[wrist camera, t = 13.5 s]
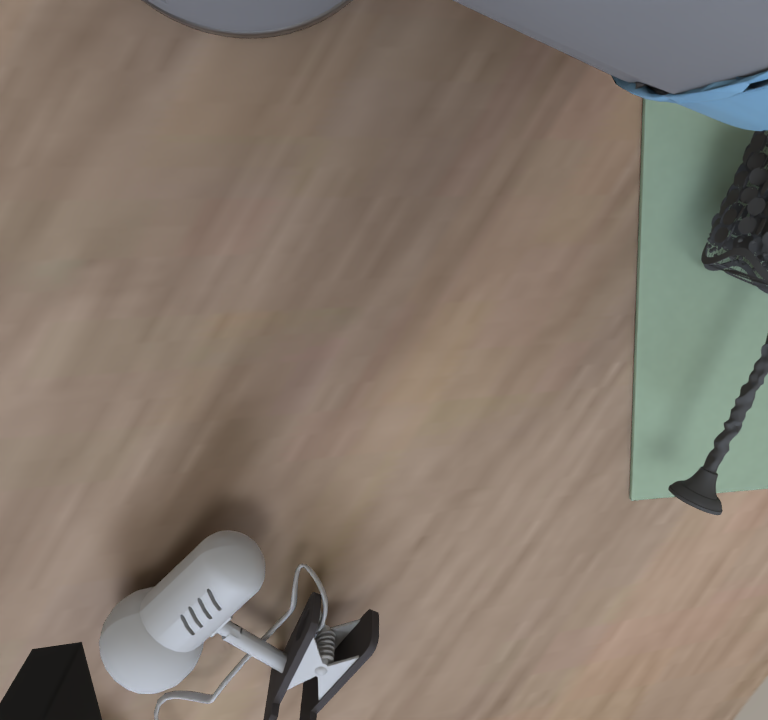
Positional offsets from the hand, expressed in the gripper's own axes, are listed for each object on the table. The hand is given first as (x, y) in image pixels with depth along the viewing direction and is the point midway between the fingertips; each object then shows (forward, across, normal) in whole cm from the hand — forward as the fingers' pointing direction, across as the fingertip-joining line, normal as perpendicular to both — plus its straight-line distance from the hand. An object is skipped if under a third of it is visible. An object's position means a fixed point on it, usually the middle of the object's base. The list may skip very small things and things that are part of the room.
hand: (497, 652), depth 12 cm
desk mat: (+26, +19, 0) cm, 32 cm away
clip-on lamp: (+26, -12, -17) cm, 33 cm away
